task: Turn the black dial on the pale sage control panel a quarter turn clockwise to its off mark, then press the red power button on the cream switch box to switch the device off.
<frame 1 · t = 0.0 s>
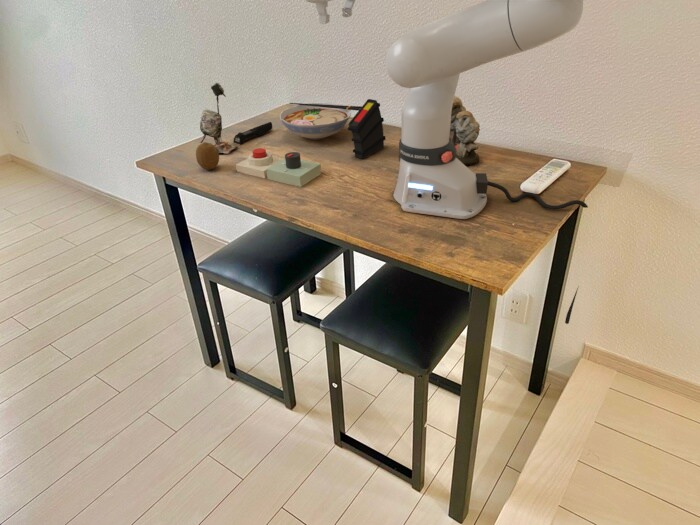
hand: (335, 19, 118), 39 cm above the table, tool pointing down, fingers open, 8 cm apart
grey mottled tall figure: (219, 151, 159), on the table
dial: (293, 159, 138), point 5 cm above the table, hinge at 90.0°
switch box: (261, 168, 146), on the table
electric trimmer: (253, 137, 168), on the table
ramen bowl: (317, 136, 167), on the table
power button: (259, 153, 144), point 5 cm above the table, slide at 0.2 cm
fruit: (210, 170, 147), on the table
dial panel: (294, 176, 141), on the table
owl figurine: (448, 157, 149), on the table
magazine: (367, 154, 153), on the table
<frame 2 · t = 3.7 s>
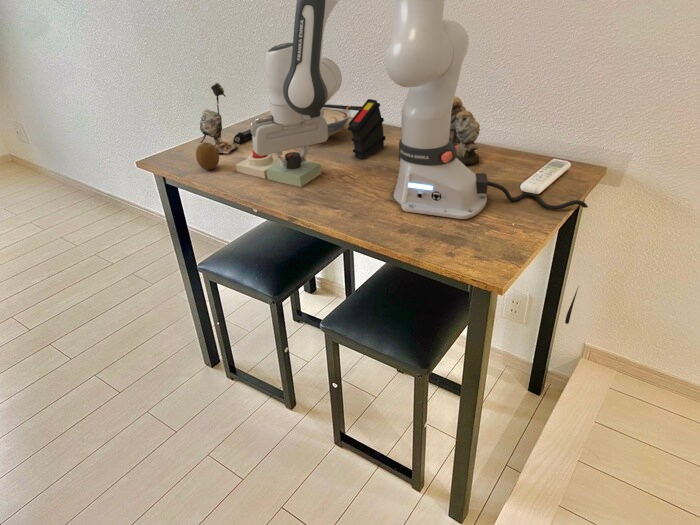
hand: (293, 163, 139), 4 cm above the table, tool pointing down, fingers closed on dial, 4 cm apart
dial: (293, 159, 138), point 5 cm above the table, hinge at 89.9°, touching gripper
everything else where it was.
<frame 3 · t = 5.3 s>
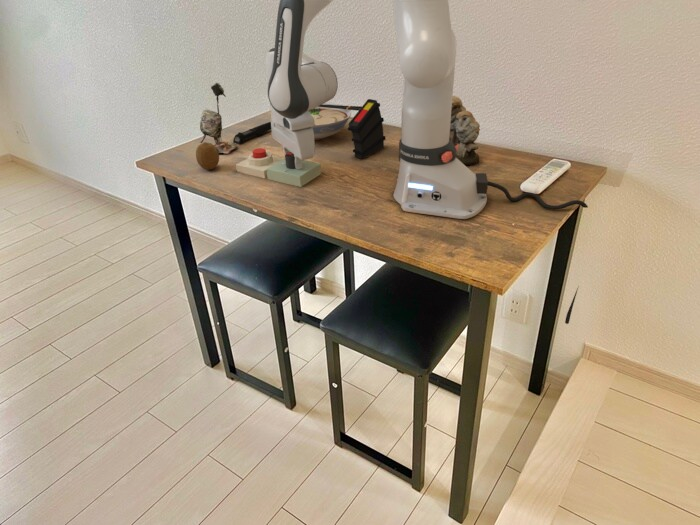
hand: (294, 164, 139), 3 cm above the table, tool pointing down, fingers closed on dial, 4 cm apart
dial: (293, 159, 138), point 5 cm above the table, hinge at 0.2°, touching gripper
everything else where it was.
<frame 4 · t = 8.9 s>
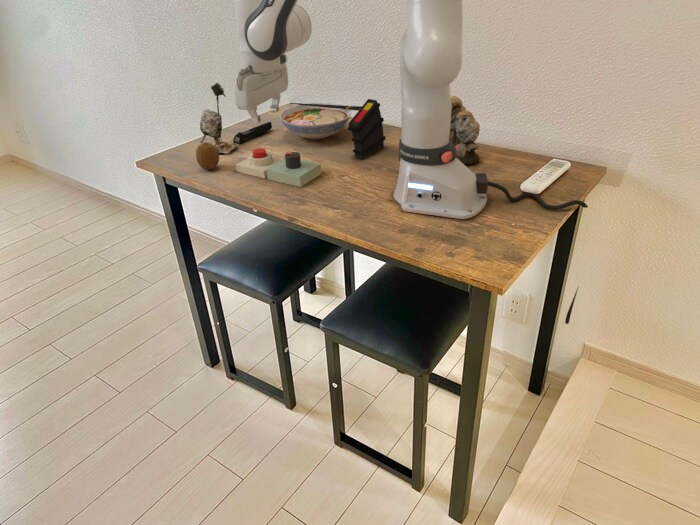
hand: (266, 117, 136), 15 cm above the table, tool pointing down, fingers open, 8 cm apart
dial: (293, 159, 138), point 5 cm above the table, hinge at 1.3°
everything else where it was.
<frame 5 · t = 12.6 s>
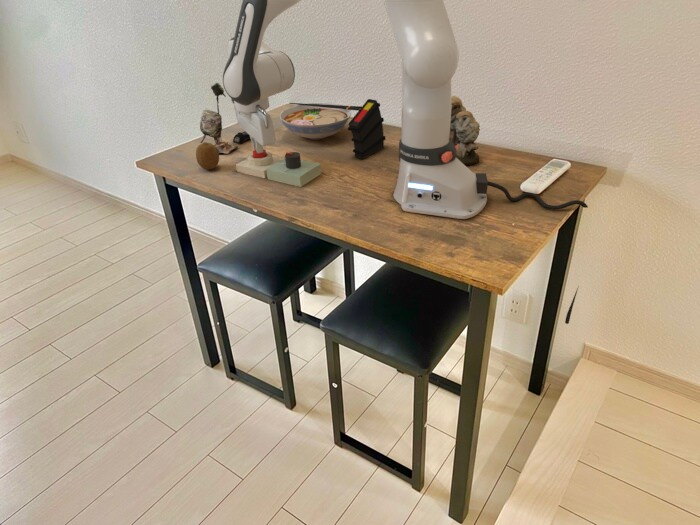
hand: (258, 151, 143), 5 cm above the table, tool pointing down, fingers closed, pressing on power button
power button: (259, 154, 144), point 4 cm above the table, slide at -0.1 cm, touching gripper
everything else where it was.
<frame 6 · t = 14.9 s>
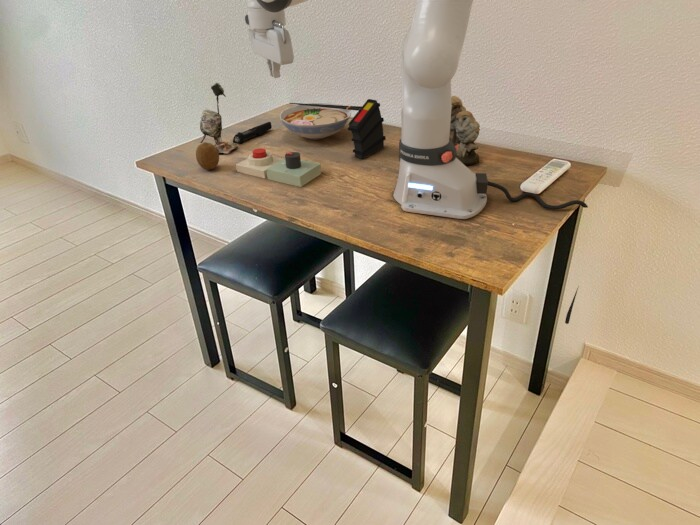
hand: (275, 76, 135), 24 cm above the table, tool pointing down, fingers closed
power button: (259, 153, 144), point 5 cm above the table, slide at 0.1 cm
everything else where it was.
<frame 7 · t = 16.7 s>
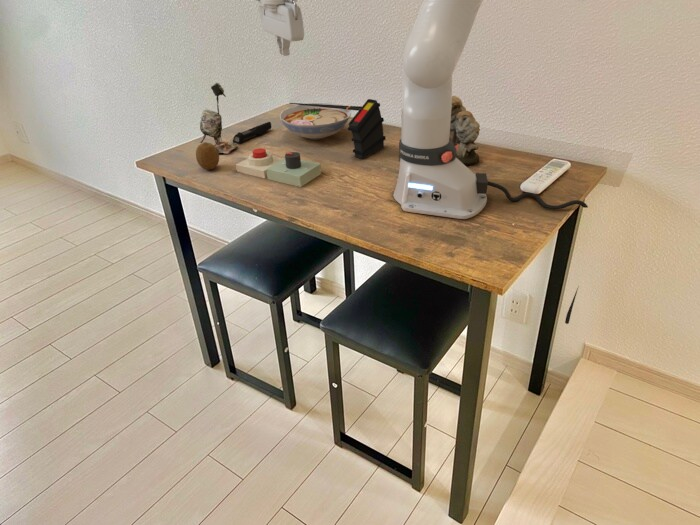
hand: (284, 54, 134), 29 cm above the table, tool pointing down, fingers closed
nothing on the table moved.
at the end: dial at +1° (first picture: +90°); power button pushed in 1.0 cm at the most during the clip, back to where it started at the end; power button slide at 0.1 cm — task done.
